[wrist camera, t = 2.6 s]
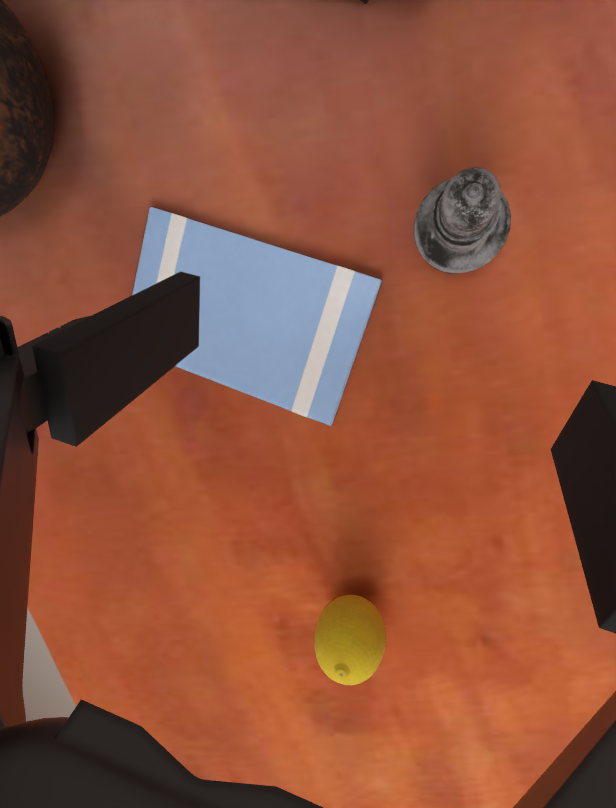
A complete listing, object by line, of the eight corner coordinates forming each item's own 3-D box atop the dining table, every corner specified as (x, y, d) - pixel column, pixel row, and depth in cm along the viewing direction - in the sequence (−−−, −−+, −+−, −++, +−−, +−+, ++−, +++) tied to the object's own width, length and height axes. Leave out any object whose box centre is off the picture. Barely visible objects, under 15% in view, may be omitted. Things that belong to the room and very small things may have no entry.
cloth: (332, 424, 37) (330, 426, 36) (125, 345, 40) (120, 345, 40) (382, 280, 34) (381, 279, 33) (154, 207, 37) (149, 206, 37)
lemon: (314, 602, 40) (288, 668, 33) (354, 564, 38) (337, 625, 31) (360, 645, 40) (345, 722, 32) (403, 609, 38) (397, 681, 31)
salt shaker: (509, 192, 31) (559, 117, 19) (492, 281, 32) (530, 260, 20) (421, 188, 32) (419, 116, 20) (409, 274, 33) (400, 251, 22)
